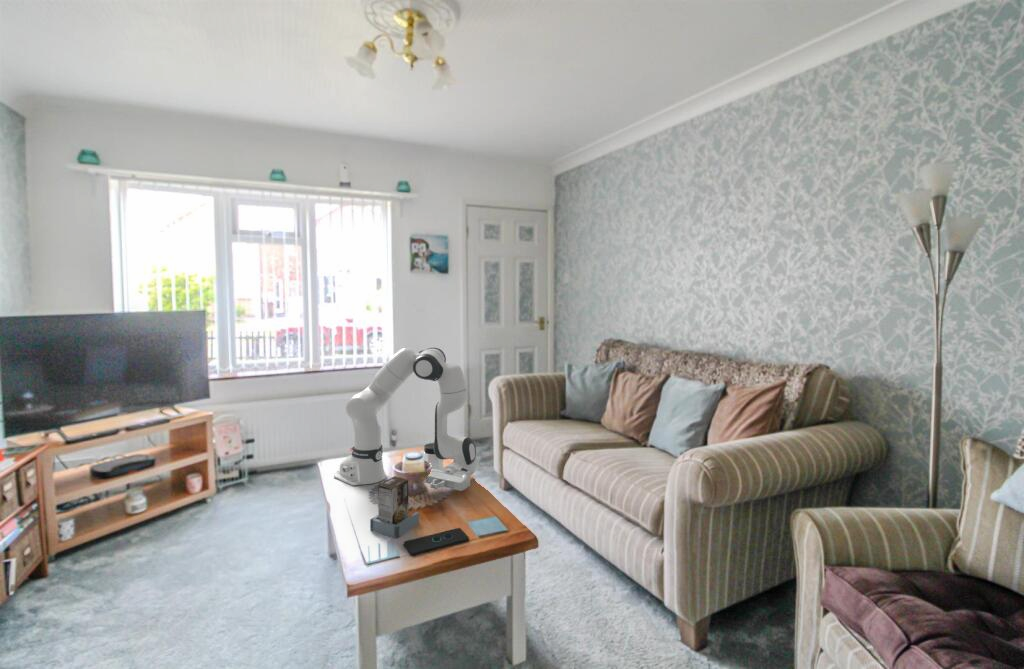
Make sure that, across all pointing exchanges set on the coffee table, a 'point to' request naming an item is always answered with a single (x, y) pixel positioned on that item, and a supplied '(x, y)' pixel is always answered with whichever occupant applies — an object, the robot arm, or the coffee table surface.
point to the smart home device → (435, 541)
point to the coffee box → (393, 500)
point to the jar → (432, 457)
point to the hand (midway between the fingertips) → (433, 486)
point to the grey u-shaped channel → (394, 526)
